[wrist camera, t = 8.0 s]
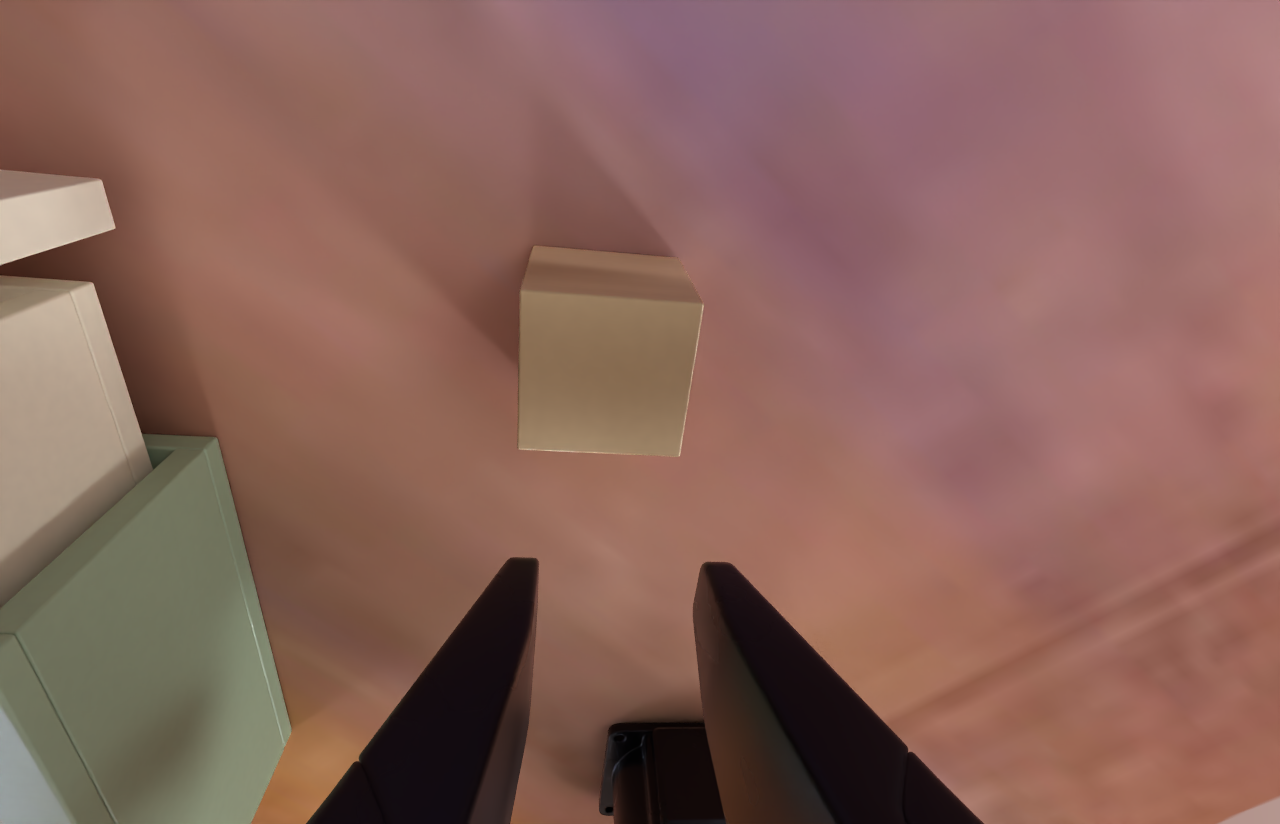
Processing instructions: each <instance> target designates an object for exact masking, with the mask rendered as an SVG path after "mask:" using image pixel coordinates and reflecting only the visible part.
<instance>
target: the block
mask: <svg viewBox="0 0 1280 824" xmlns="http://www.w3.org/2000/svg"><path fill="white" fill-rule="evenodd" d="M703 309H704V303H703V301H702V300H701V298H700V296H699V294H698V292H697V290H696V289H695V287H694V285H693V283H692V281H691V280H690V278H689V276H688V274H687V272H686V270H685V269H684V267H683V265H682V263H681V261H680V259H679V258H675V257H663V256H652V255H640V254H629V253H617V252H605V251H594V250H582V249H570V248H559V247H547V246H536V245H534V246H533V247H532V251H531V254H530V258H529V261H528V264H527V268H526V271H525V274H524V278H523V281H522V284H521V288H520V291H519V365H518V439H517V448H518V449H519V450H540V451H562V452H584V453H607V454H629V455H651V456H673V457H679V456H680V452H681V445H682V439H683V433H684V427H685V421H686V414H687V408H688V402H689V396H690V389H691V383H692V377H693V371H694V365H695V358H696V352H697V346H698V340H699V333H700V327H701V321H702V315H703Z"/></svg>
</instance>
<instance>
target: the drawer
mask: <svg viewBox="0 0 1280 824" xmlns="http://www.w3.org/2000/svg"><path fill="white" fill-rule="evenodd" d="M113 229H115V224H114V220H113V217H112V214H111V210H110V207H109V203H108V200H107V196H106V193H105V189H104V186H103V183H102V180H101V179H98V178H87V177H76V176H65V175H54V174H43V173H32V172H21V171H10V170H0V265H2V264H5V263H8V262H12V261H15V260H18V259H21V258H24V257H27V256H31V255H34V254H37V253H40V252H43V251H46V250H50V249H53V248H56V247H59V246H62V245H66V244H69V243H72V242H75V241H78V240H81V239H85V238H88V237H91V236H94V235H97V234H100V233H104V232H107V231H110V230H113ZM151 471H153V468H152V465H151V462H150V458H149V455H148V452H147V449H146V446H145V443H144V440H143V437H142V433H141V430H140V427H139V424H138V421H137V418H136V415H135V412H134V409H133V405H132V402H131V399H130V396H129V393H128V390H127V387H126V384H125V380H124V377H123V374H122V371H121V368H120V365H119V362H118V359H117V356H116V352H115V349H114V346H113V343H112V340H111V337H110V334H109V331H108V327H107V324H106V321H105V318H104V315H103V312H102V309H101V306H100V303H99V299H98V296H97V293H96V290H95V287H94V284H93V283H92V282H85V281H71V280H57V279H43V278H29V277H16V276H2V275H0V608H1V607H2V606H3V605H5V604H6V603H7V602H8V601H9V600H10V599H11V598H12V597H13V596H14V595H16V594H17V593H18V592H19V591H20V590H21V589H22V588H23V587H24V586H26V585H27V584H28V583H29V582H30V581H31V580H32V579H33V578H34V577H35V576H37V575H38V574H39V573H40V572H41V571H42V570H43V569H44V568H45V567H47V566H48V565H49V564H50V563H51V562H52V561H53V560H54V559H55V558H56V557H58V556H59V555H60V554H61V553H62V552H63V551H64V550H65V549H66V548H68V547H69V546H70V545H71V544H72V543H73V542H74V541H75V540H76V539H77V538H79V537H80V536H81V535H82V534H83V533H84V532H85V531H86V530H87V529H89V528H90V527H91V526H92V525H93V524H94V523H95V522H96V521H97V520H98V519H100V518H101V517H102V516H103V515H104V514H105V513H106V512H107V511H108V510H110V509H111V508H112V507H113V506H114V505H115V504H116V503H117V502H118V501H119V500H121V499H122V498H123V497H124V496H125V495H126V494H127V493H128V492H129V491H131V490H132V489H133V488H134V487H135V486H136V485H137V484H138V483H139V482H140V481H142V480H143V479H144V478H145V477H146V476H147V475H148V474H149V473H150V472H151Z"/></svg>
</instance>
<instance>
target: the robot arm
mask: <svg viewBox="0 0 1280 824" xmlns="http://www.w3.org/2000/svg"><path fill="white" fill-rule="evenodd" d="M538 580H539V561H538V560H537V559H536V558H518V557H513V558H510V559H508V560H507V561H506V563H505V564H504V565H503V566H502V568H501V569H500V570H499V572H498V573H497V574H496V576H495V577H494V578H493V580H492V581H491V582H490V584H489V585H488V586H487V588H486V589H485V590H484V592H483V593H482V594H481V596H480V597H479V598H478V599H477V601H476V602H475V603H474V605H473V606H472V607H471V609H470V610H469V611H468V613H467V614H466V615H465V617H464V618H463V619H462V621H461V622H460V623H459V625H458V626H457V627H456V629H455V630H454V631H453V632H452V634H451V635H450V636H449V638H448V639H447V640H446V642H445V643H444V644H443V646H442V647H441V648H440V650H439V651H438V652H437V654H436V655H435V656H434V658H433V659H432V660H431V662H430V663H429V664H428V665H427V667H426V668H425V669H424V671H423V672H422V673H421V675H420V676H419V677H418V679H417V680H416V681H415V683H414V684H413V685H412V687H411V688H410V689H409V691H408V692H407V693H406V695H405V696H404V697H403V699H402V700H401V701H400V702H399V704H398V705H397V706H396V708H395V709H394V710H393V712H392V713H391V714H390V716H389V717H388V718H387V720H386V721H385V722H384V724H383V725H382V726H381V728H380V729H379V730H378V732H377V733H376V734H375V735H374V737H373V738H372V739H371V741H370V742H369V743H368V745H367V746H366V747H365V749H364V750H363V751H362V753H361V754H360V756H359V762H358V761H356V762H354V763H353V764H352V765H351V767H350V768H349V769H348V771H347V772H346V773H345V775H344V776H343V777H342V779H341V780H340V781H339V783H338V784H337V785H336V787H335V788H334V789H333V791H332V792H331V793H330V794H329V796H328V797H327V798H326V799H325V801H324V802H323V803H322V804H321V806H320V807H319V808H318V809H317V811H316V812H315V813H314V814H313V816H312V817H311V818H310V819H309V821H308V822H307V823H306V824H510V821H511V815H512V810H513V805H514V800H515V794H516V789H517V784H518V779H519V774H520V768H521V763H522V758H523V753H524V748H525V742H526V736H527V730H528V724H529V715H530V705H531V692H532V678H533V664H534V650H535V636H536V622H537V606H538ZM693 623H694V633H695V642H696V652H697V661H698V671H699V680H700V690H701V699H702V708H703V716H704V723H620V724H615V725H612V726H611V727H610V728H609V730H608V735H607V743H606V751H605V759H604V766H603V774H602V782H601V790H600V798H599V811H600V813H601V814H603V815H607V816H614V824H984V823H983V822H982V821H981V820H980V819H979V818H977V817H976V816H975V815H974V814H973V813H972V812H971V811H970V810H969V809H968V808H967V807H966V806H965V805H964V804H963V803H962V802H961V801H960V800H959V799H958V798H957V797H956V796H955V795H954V794H953V793H952V792H951V791H950V790H949V789H948V788H947V787H946V786H945V785H944V784H943V783H942V782H941V781H940V780H939V779H938V778H937V777H936V775H935V774H934V773H933V772H932V771H931V770H930V769H929V768H928V767H927V766H926V765H925V764H924V763H923V762H922V761H921V760H920V759H919V758H918V757H917V756H916V755H915V754H914V753H913V752H908V747H907V746H906V745H905V744H904V742H903V741H902V740H901V739H900V738H899V737H898V736H897V735H896V734H895V733H894V732H893V731H892V730H891V729H890V728H889V727H888V726H887V725H886V724H885V723H884V722H883V721H882V720H881V719H880V717H879V716H878V715H877V714H876V713H875V712H874V711H873V710H872V709H871V708H870V707H869V706H868V705H867V704H866V703H865V702H864V701H863V700H862V699H861V698H860V697H859V696H858V695H857V694H856V692H855V691H854V690H853V689H852V688H851V687H850V686H849V685H848V684H847V683H846V682H845V681H844V680H843V679H842V678H841V677H840V676H839V675H838V674H837V673H836V672H835V671H834V670H833V669H832V668H831V666H830V665H829V664H828V663H827V662H826V661H825V660H824V659H823V658H822V657H821V656H820V655H819V654H818V653H817V652H816V651H815V650H814V649H813V648H812V647H811V646H810V645H809V644H808V643H807V641H806V640H805V639H804V638H803V637H802V636H801V635H800V634H799V633H798V632H797V631H796V630H795V629H794V628H793V627H792V626H791V625H790V624H789V623H788V622H787V621H786V620H785V619H784V618H783V616H782V615H781V614H780V613H779V612H778V611H777V610H776V609H775V608H774V607H773V606H772V605H771V604H770V603H769V602H768V601H767V600H766V599H765V598H764V597H763V596H762V595H761V594H760V593H759V591H758V590H757V589H756V588H755V587H754V586H753V585H752V584H751V583H750V582H749V581H748V580H747V579H746V578H745V577H744V576H743V575H742V574H741V573H740V572H739V571H738V570H737V569H736V568H735V566H733V565H732V564H730V563H728V562H705V563H704V564H702V566H701V568H700V573H699V578H698V583H697V588H696V593H695V598H694V603H693Z"/></svg>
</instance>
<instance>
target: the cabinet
mask: <svg viewBox="0 0 1280 824" xmlns="http://www.w3.org/2000/svg"><path fill="white" fill-rule="evenodd" d="M142 437H143V440H144V443H145V446H146V449H147V452H148V455H149V458H150V462H151V465H152V468H153V471H151V472H150V473H149V474H148V475H147V476H146V477H145V478H144V479H143V480H142V481H140V482H139V483H138V484H137V485H136V486H135V487H134V488H133V489H132V490H131V491H129V492H128V493H127V494H126V495H125V496H124V497H123V498H122V499H121V500H119V501H118V502H117V503H116V504H115V505H114V506H113V507H112V508H111V509H110V510H108V511H107V512H106V513H105V514H104V515H103V516H102V517H101V518H100V519H98V520H97V521H96V522H95V523H94V524H93V525H92V526H91V527H90V528H89V529H87V530H86V531H85V532H84V533H83V534H82V535H81V536H80V537H79V538H77V539H76V540H75V541H74V542H73V543H72V544H71V545H70V546H69V547H68V548H66V549H65V550H64V551H63V552H62V553H61V554H60V555H59V556H58V557H56V558H55V559H54V560H53V561H52V562H51V563H50V564H49V565H48V566H47V567H45V568H44V569H43V570H42V571H41V572H40V573H39V574H38V575H37V576H35V577H34V578H33V579H32V580H31V581H30V582H29V583H28V584H27V585H26V586H24V587H23V588H22V589H21V590H20V591H19V592H18V593H17V594H16V595H14V596H13V597H12V598H11V599H10V600H9V601H8V602H7V603H6V604H5V605H3V606H2V607H1V608H0V824H251V822H252V820H253V818H254V815H255V813H256V811H257V809H258V806H259V804H260V802H261V800H262V797H263V795H264V793H265V791H266V788H267V786H268V784H269V782H270V779H271V777H272V775H273V773H274V770H275V768H276V766H277V764H278V762H279V759H280V757H281V755H282V753H283V750H284V747H285V745H286V743H287V740H288V738H289V736H290V734H291V732H292V729H291V725H290V722H289V718H288V714H287V710H286V706H285V702H284V698H283V694H282V690H281V686H280V682H279V678H278V674H277V670H276V666H275V663H274V659H273V655H272V651H271V647H270V643H269V639H268V635H267V631H266V627H265V623H264V619H263V615H262V611H261V607H260V604H259V600H258V596H257V592H256V588H255V584H254V580H253V576H252V572H251V568H250V564H249V560H248V556H247V552H246V548H245V545H244V541H243V537H242V533H241V529H240V525H239V521H238V517H237V513H236V509H235V505H234V501H233V497H232V493H231V489H230V486H229V482H228V478H227V474H226V470H225V466H224V462H223V458H222V454H221V450H220V446H219V442H218V439H217V438H216V437H204V436H182V435H160V434H142Z"/></svg>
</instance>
